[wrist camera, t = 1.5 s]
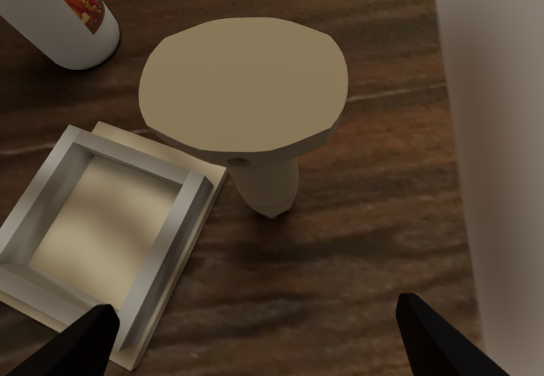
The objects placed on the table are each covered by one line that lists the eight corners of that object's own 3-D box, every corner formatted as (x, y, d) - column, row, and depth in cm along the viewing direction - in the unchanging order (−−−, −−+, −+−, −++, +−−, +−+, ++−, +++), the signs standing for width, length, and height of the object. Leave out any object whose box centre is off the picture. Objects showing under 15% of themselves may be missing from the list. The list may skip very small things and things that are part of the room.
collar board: (138, 365, 20) (107, 385, 16) (2, 293, 22) (-50, 297, 19) (229, 171, 24) (218, 155, 20) (105, 126, 26) (78, 105, 22)
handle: (311, 230, 22) (350, 153, 7) (232, 227, 22) (124, 149, 8) (311, 173, 23) (345, 15, 9) (237, 171, 24) (153, 19, 9)
